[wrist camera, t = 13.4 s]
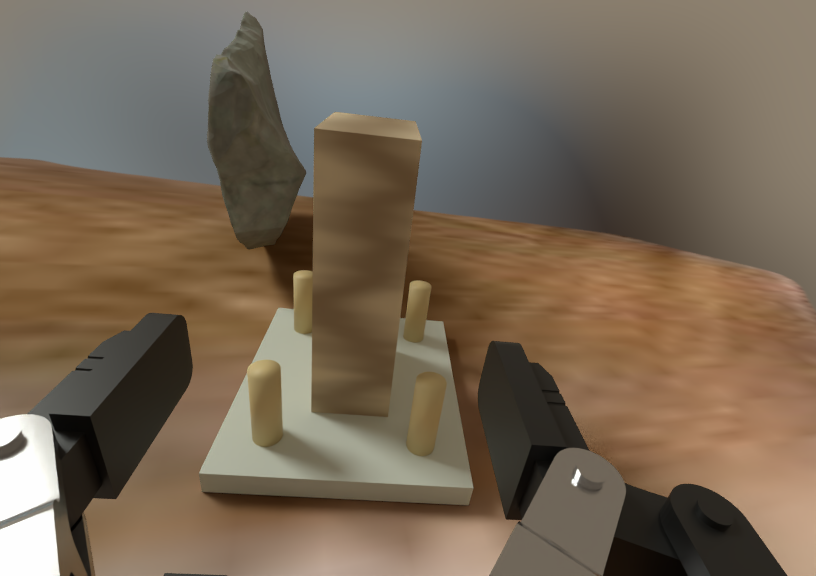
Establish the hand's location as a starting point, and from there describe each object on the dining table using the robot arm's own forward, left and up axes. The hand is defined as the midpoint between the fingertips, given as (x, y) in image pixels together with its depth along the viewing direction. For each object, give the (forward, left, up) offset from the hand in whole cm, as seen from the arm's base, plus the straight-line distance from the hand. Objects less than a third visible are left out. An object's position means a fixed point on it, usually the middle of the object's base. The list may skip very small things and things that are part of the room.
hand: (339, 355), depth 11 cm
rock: (-11, +31, -11) cm, 35 cm away
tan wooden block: (0, +10, -9) cm, 14 cm away
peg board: (0, +10, -11) cm, 15 cm away
